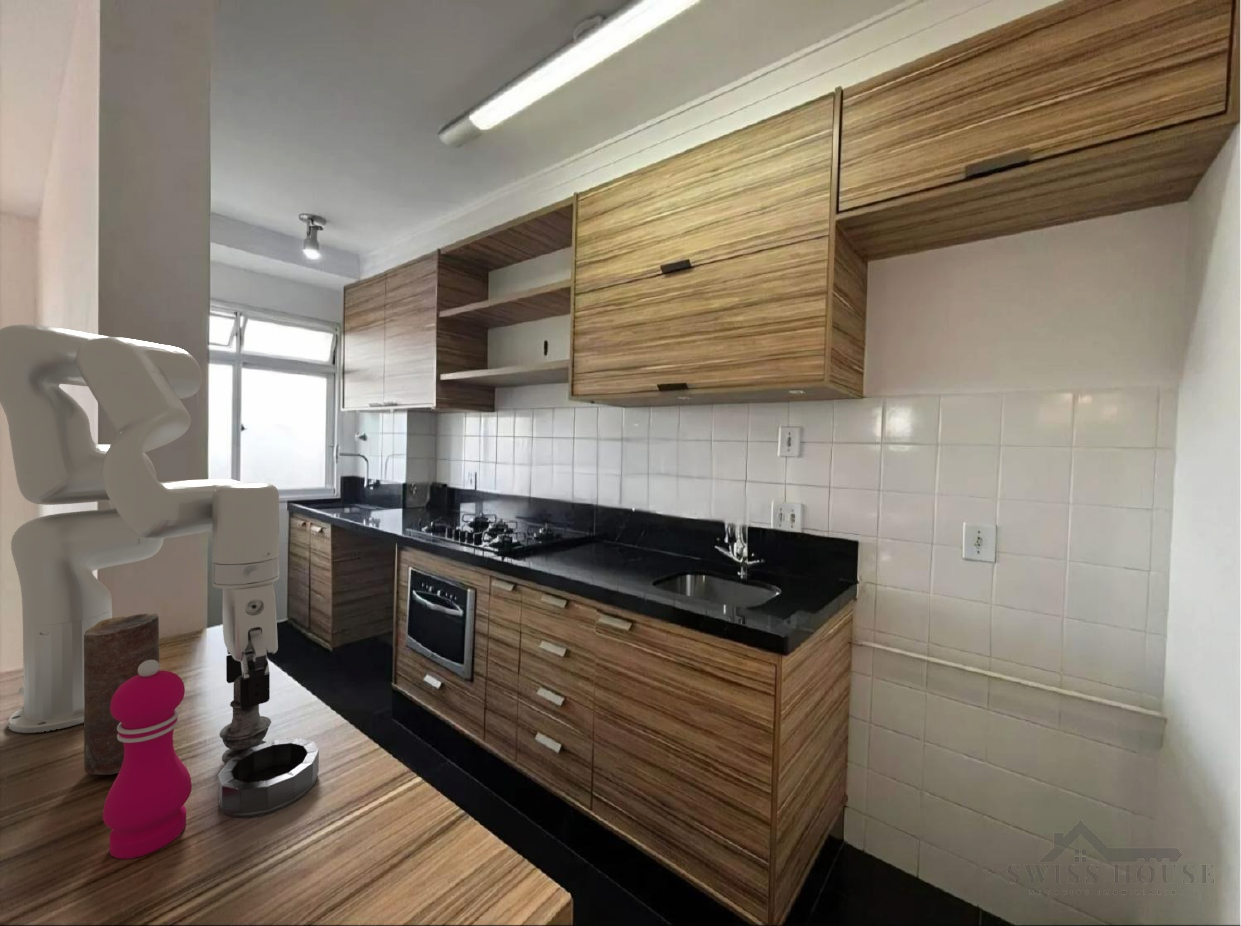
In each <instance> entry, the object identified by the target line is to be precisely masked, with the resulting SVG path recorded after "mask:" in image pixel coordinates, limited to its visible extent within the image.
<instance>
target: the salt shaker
mask: <svg viewBox="0 0 1241 926" xmlns="http://www.w3.org/2000/svg"><path fill="white" fill-rule="evenodd" d="M240 678H243V675H242V676H240V677H238V678H237V679H236V680H235V681H234V682H233V700H232V701H231V702H230V703H229V706H230V707H231V708H232V718H231V722H229V723H228V724H227V725H225V726H224V727H223V728H222V729H221V730H220V731H219V737H220V738H221V739H222V743H223V744H224V746H225V747H226V748H227V750H225V752H224V753H222V756H221V758H222V761H223V762H224V763H226V764H227V762H228V761H229V760H231V759H232V758H234V757H236V756H237V755H239V754H241V753H242V752H244V751H246V750H247V749H249V748H252V747H255V746H258V745H261V744H264V743H267V742H268V741H265V740H264V738H265V737H266V735H267V734H268V731H269V727H270V726H271V724H272V721H271V719H270V718H269V717H268V716H264V715H261V714H260V704H258V705H255V706H252V707H248V708H245V709H242V708H241V707H240Z"/></svg>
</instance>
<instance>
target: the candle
mask: <svg viewBox="0 0 1241 926" xmlns="http://www.w3.org/2000/svg"><path fill="white" fill-rule="evenodd" d="M159 622H160V621H159V615H158V614H157V613H155V612H154V613H138V614H132V615H128V616H117V617H112V618H110V619H106V620H101V621H100V622H98V623H97V624H96V625H95V626H94V627H91V628H90V629H88V630H87V631H85V634H84V723H83V736H84V737H83V743H84V745H83V746H84V747H83V754H84V755H83V759H84V760H83V765H84V772H85V773H86V774H87V775H103V776H105V775H106V776H107V775H115V774H119V771H120V769H121V766H122V763H123V760H124V745H123V742H121V741H119V740H118V739H117V735H118V731H117V726H118V725H119V723H121V722H120V721H118V720H116V719H115V718H114V717H113V716H112V714H111V710H110V706H111V700H112V697H113V695H114V693H115V692H116V690H117V689H118V688H119V687H120V686H121V685H122V684H123V683H124V682H126V681H127V680H129V679H131V678H133V677H135V676H137V675H139V674H138V667H139V666H140V664H142V663H143V662H144V661H147V660H156V661H157V662H158V663H159V664H160V643H159V642H160V628H159V627H160V626H159V624H160V623H159ZM158 671H160V669H159V670H158Z"/></svg>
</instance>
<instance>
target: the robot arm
mask: <svg viewBox="0 0 1241 926" xmlns="http://www.w3.org/2000/svg"><path fill="white" fill-rule="evenodd" d="M202 382H203V373H202V369H201V367H200V365H199V363H198V360H196V359H195V358H194V356H192V354H190V353H189V352H188V351H186V350H185V349H182V348H180V347H176V346H172V345H168V344H161V343H160V344H159V343H155V342H149V341H144V340H139V339H132V338H127V337H119V336H118V337H117V336H107V335H103V334H102V335H101V334H95V333H90V332H85V331H79V330H74V329H68V328H63V327H62V328H61V327H55V326H49V325H40V324H15V325H12V324H11V325H8V326H5V327H2V328H0V405H1V407H2V409H3V411H4V414H5V416H6V420H7V423H8V425H7V426H8V432H9V440H10V446H11V452H12V459H13V464H14V471H15V477H16V482H17V486H18V488H19V491H20V493H21V496H23V498H24V499H25V500H27V501H28V502H30V503H33V504H36V505H45V506H51V505H53V506H54V505H58V506H59V505H70V504H72V505H73V504H84V503H85V504H86V503H94V502H96V503H98V502H107V503H108V504H109V507H110V508H107V509H92V510H91V509H89V510H82V511H81V510H80V511H71V512H61V513H55V514H54V513H53V514H49V515H43V516H40V517H39V516H38V517H37V518H34V519H32V520H29V521H26V522H25V523H23V524H21V526H19V527H18V528H17V529H16V530H15V532H14V534H13V535H12V537H11V542H10V548H11V554H12V559H13V561H14V564H15V567H16V568H15V569H16V571H17V576H18V580H19V585H20V594H21V607H22V610H21V611H22V653H23V654H22V660H23V661H22V663H23V664H22V666H23V667H22V668H23V669H22V671H23V673H22V674H23V675H22V677H23V686H21V687H19V688H18V692H17V693H18V695H21V696H23V706H22V707H21V708H19V709H18V710H16V711H14V712H13V713H12V714H11V715H10V716H9V717H8V718H7V719H8V720H7V727H9V728H8V730H10V729H11V730H10V731H12V732H14V733H18V734H21V733H22V734H35V733H37V732H38V733H45V732H44V731H46V732H51V731H50V730H52V731H57V730H56V729H58V730H62V729H65V728H69V727H70V728H71V727H73V726H77V725H80V724H84V634H85V631H87V630H88V629H90V628H91V627H94V626H95V625H96V624H97V623H98V622H100V621H101V620H106V619H110V618H113V598H112V594H111V592H110V590H109V589H108V587H106V585H105V584H103V583H102V582H101V581H100V580H99V579H98V578H97V577H96V576H95V575H94V573H93V572H94V571H96V570H101V569H105V568H110V567H114V566H120V565H121V566H122V565H125V564H131V563H132V564H133V563H135V562H140V561H144V560H147V559H149V558H152V557H153V556H155V555H156V554H157V553H158V552H160V550H161V548H162V547H163V544H164V541H165V539H169V538H170V539H171V538H176V537H183V536H189V535H196V534H202V533H210V532H211V533H212V535H211V536H212V539H211V540H212V544H211V545H212V550H211V551H212V552H211V553H212V567H211V568H212V588H214V589H221V590H222V593H221V594H222V633H223V634H222V635H223V642H224V645H225V647H226V652H227V655H226V658H225V661H226V662H225V663H226V667H225V669H226V670H225V671H226V682H227V684H234V681H235V680H236V679H237V678H238V677H240V676H242V675H243V678H240V707H241V708H242V709H245V708H248V707H252V706H255V705H258V704H259V705H261V704H265V703H267V702H269V701H270V700H271V699H270V697H271V696H270V692H271V690H270V689H271V688H270V686H271V685H270V679H271V678H270V677H271V676H270V675H271V674H270V673H271V672H270V666H269V665H270V664H269V660H268V655H267V654H268V653H269V654H270V653H271V654H272V655H273V654H274V655H275V653H277V651H278V649H279V644H278V643H279V642H278V626H277V623H278V622H277V620H278V619H277V607H276V594H275V589H274V583H275V582H276V581H279V579H280V492H279V490H278V488H277V487H276V486H275V485H274V484H271V483H267V482H243V481H239V480H235V479H231V478H213V479H212V478H211V479H210V478H209V479H190V480H189V479H186V480H170V481H159V480H158V478H157V472H156V469H155V466H154V463H153V462H152V461H151V459H150V457H149V456H148V454H146V453H148V452H150V451H153V450H155V449H158V448H160V447H163V446H165V445H169V444H170V443H172V442H174V441H176V440H177V439H179V438H180V437H182V436H183V435H184V434H185V433H186V432H187V431H188V430H189V429H190V426H191V424H192V418H191V417H192V416H191V415H190V413H189V411H188V410H187V408H186V407H185V405H184V404H183V402H182V400H183V399H187V398H190V397H193V396H194V395H195V394H196V393H197V392H198V391H199V390H200V388H201V386H202ZM60 385H70V386H71V385H72V386H80V387H88V390H89V391H90V393H91V394H92V396H93V397H94V399H95V400H96V402H97V404H98V405H99V407H100V409H101V410H102V412H103V414H104V415H105V417H106V418H107V420H108V422H109V424H110V426H112V428H113V430H114V431H115V433H116V436H115V438H113V441H112V442H111V443H110V444H105V443H103V444H98V443H96V442H95V441H94V439H93V437H92V432H91V425H90V420H89V416H88V414H87V412H86V411H85V410H84V408H83V407H82V406H81V405H80V404H79V402H77V401H76V400H75V398H73V397H72V396H71V395H70V394H68V393H67V392H66V391H64V390H63V389H62V388H61V387H60ZM181 399H182V400H181ZM38 733H37V734H38Z"/></svg>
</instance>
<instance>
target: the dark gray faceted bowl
mask: <svg viewBox="0 0 1241 926" xmlns="http://www.w3.org/2000/svg"><path fill="white" fill-rule="evenodd" d="M266 742H267V743H264V744H261V745H258V746H255V747H252V748H249V749H247V750H246V751H244V752H242V753H241V754H239V755H237V756H236V757H234V758H232V759H231V760H229V761H228V762H227V763H226V764H225V765H224V766H223V768H221V770H220V771H219V773H218V774H217V779H218V780H217V798H218V801H219V809H220V810H221V812H222V813H223V814H224V815H226V816H228V817H232V818H236V819H237V818H238V819H249V818H251V819H252V818H256V817H262V816H266V815H269V814H272V813H276V812H278V811H280V810H282V809H285V808H287V807H289V806H291V805H293V804H294V803H297V802H298V801H299V800H300V799H302V798H303V797H304V796H306V795H307V794H308V793H309V792H310V791H311V790H312V789H313V787H314V786H315V784H316V781H317V779H318V774H319V771H320V769H319V768H320V766H319V765H320V759H319V757H320V754H319V753H320V748H318V746H317V745H316V743H315V742H314V741H313V740H309V739H305V738H301V737H299V738H298V737H290V738H283V739H273V740H270V741H266Z"/></svg>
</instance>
